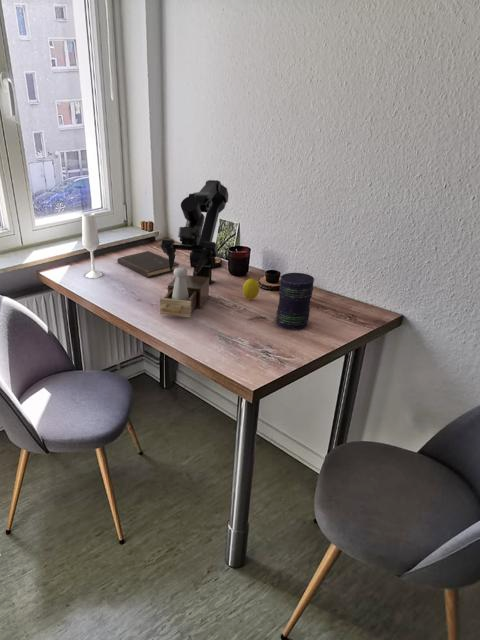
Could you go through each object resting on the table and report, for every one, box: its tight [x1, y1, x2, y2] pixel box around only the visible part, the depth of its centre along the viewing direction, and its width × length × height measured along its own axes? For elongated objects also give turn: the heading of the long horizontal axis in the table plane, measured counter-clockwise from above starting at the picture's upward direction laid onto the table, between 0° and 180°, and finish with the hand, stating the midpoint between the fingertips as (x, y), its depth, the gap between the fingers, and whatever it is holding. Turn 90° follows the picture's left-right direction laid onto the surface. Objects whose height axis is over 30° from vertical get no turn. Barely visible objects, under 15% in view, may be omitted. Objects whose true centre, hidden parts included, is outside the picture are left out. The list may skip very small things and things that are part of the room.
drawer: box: [159, 289, 197, 318], centre depth 166 cm, size 15×10×5 cm
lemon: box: [242, 277, 260, 301], centre depth 174 cm, size 6×6×8 cm
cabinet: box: [167, 274, 210, 309], centre depth 176 cm, size 12×12×7 cm
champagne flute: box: [81, 212, 103, 279], centre depth 197 cm, size 7×7×24 cm
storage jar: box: [275, 272, 315, 331], centre depth 155 cm, size 10×10×15 cm
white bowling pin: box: [172, 266, 189, 301], centre depth 165 cm, size 6×6×13 cm
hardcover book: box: [117, 250, 180, 278], centre depth 210 cm, size 16×23×2 cm
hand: (183, 271), depth 166 cm, fingers open, 9 cm apart
